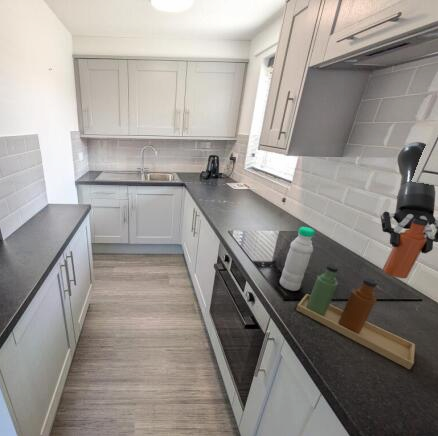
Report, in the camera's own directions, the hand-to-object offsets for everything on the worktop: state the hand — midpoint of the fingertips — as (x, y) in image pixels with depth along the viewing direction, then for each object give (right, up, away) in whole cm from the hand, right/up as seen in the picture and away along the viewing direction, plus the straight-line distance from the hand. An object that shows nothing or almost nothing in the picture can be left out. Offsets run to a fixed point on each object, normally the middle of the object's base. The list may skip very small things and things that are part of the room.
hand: (410, 248), depth 65 cm
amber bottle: (-11, -26, +7) cm, 29 cm away
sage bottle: (-17, -23, +13) cm, 31 cm away
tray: (-11, -26, +7) cm, 29 cm away
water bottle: (-18, -18, +26) cm, 37 cm away
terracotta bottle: (+1, -8, +5) cm, 9 cm away
